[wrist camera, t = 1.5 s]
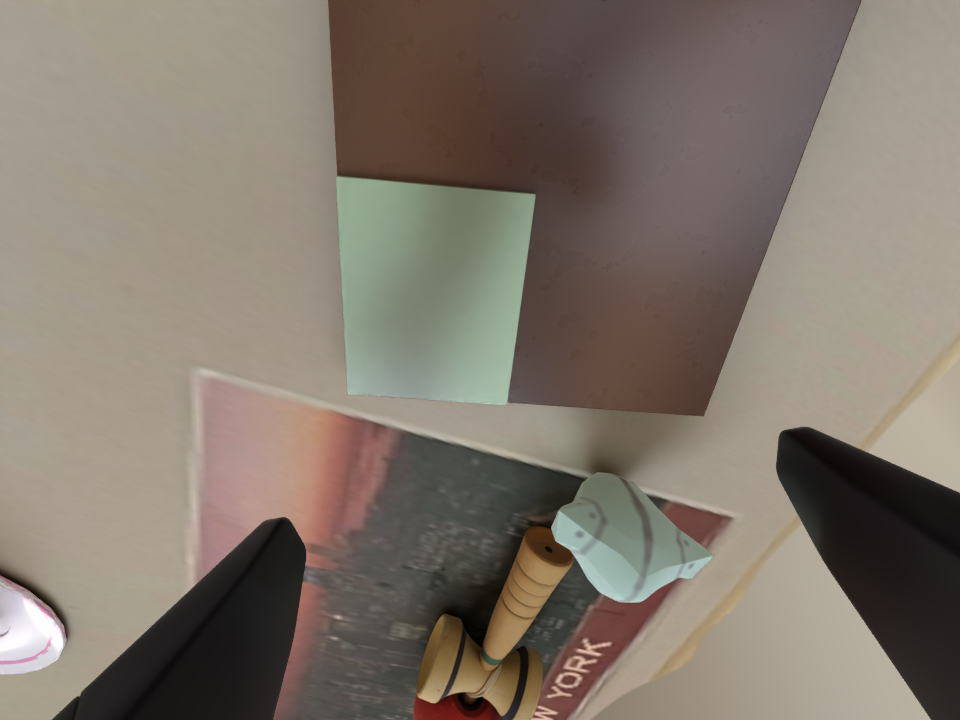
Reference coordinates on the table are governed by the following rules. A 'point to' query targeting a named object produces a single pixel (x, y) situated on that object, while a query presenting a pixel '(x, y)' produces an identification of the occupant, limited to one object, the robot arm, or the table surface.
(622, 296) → the walnut board
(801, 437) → the robot arm
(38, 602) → the teacup
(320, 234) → the table surface
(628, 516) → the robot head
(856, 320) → the table surface
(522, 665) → the kendama
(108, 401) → the table surface
